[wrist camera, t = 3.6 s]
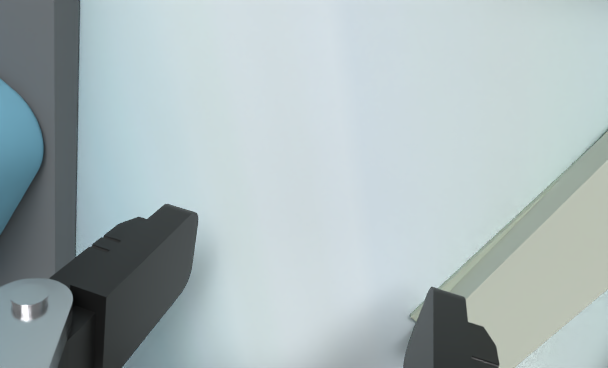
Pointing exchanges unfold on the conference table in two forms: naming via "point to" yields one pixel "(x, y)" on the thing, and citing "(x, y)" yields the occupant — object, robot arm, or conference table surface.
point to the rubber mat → (43, 133)
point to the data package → (16, 150)
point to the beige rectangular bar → (541, 262)
